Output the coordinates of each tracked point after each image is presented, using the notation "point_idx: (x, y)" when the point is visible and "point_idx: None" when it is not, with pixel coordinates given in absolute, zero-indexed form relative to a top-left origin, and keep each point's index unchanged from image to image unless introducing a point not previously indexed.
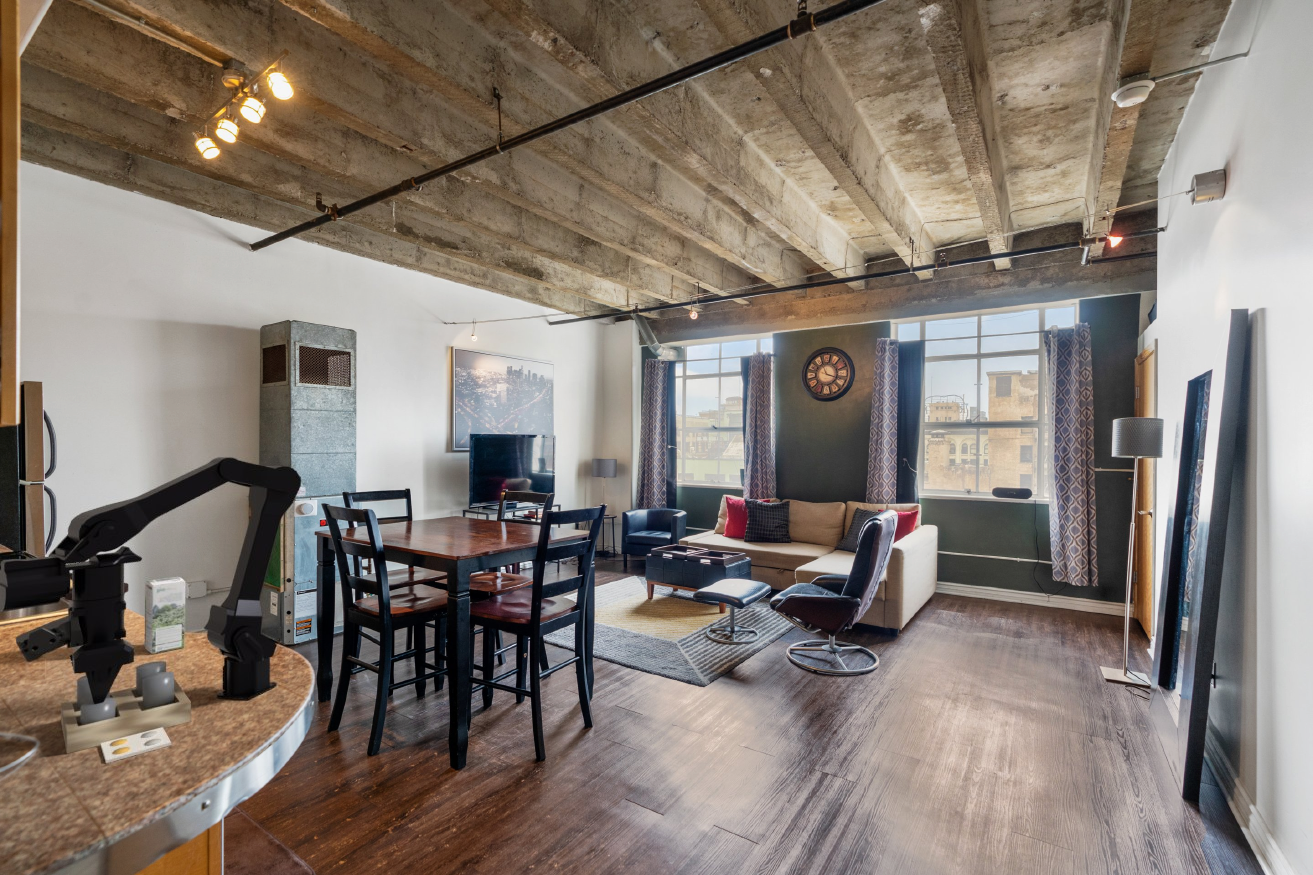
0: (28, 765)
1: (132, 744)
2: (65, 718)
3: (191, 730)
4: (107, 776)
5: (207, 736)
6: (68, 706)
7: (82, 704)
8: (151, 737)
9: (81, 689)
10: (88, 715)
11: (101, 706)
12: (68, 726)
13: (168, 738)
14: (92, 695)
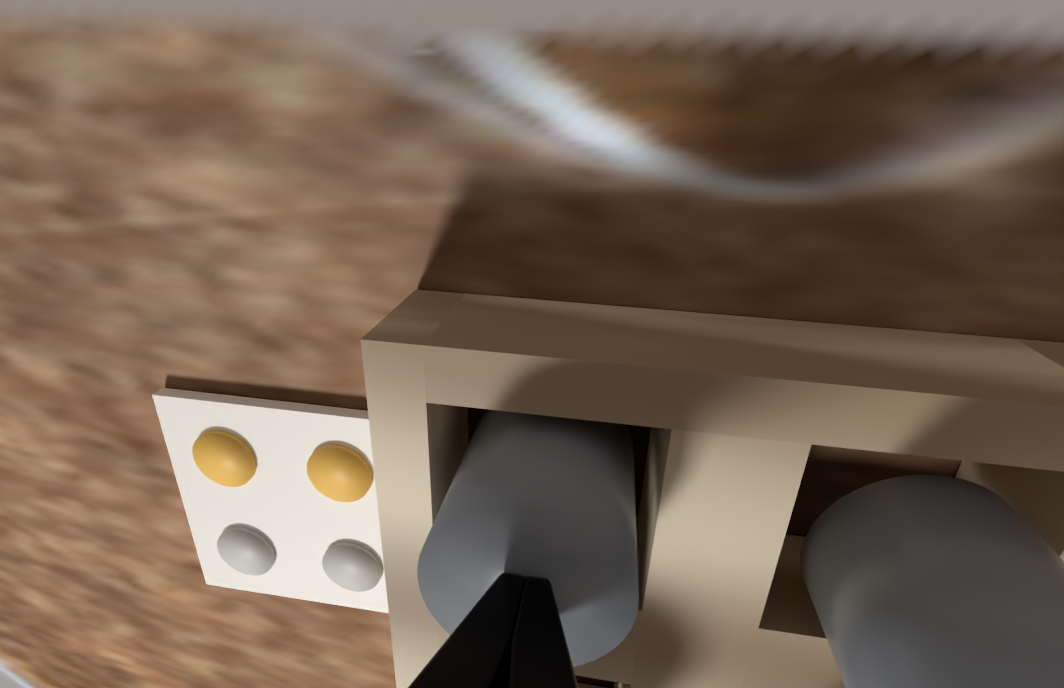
0: (381, 113)
1: (282, 500)
2: (699, 377)
3: (329, 651)
4: (20, 364)
5: (226, 656)
6: (1033, 442)
7: (869, 514)
8: (316, 561)
9: (950, 626)
10: (452, 487)
11: (423, 582)
12: (480, 363)
13: (255, 590)
14: (455, 634)
